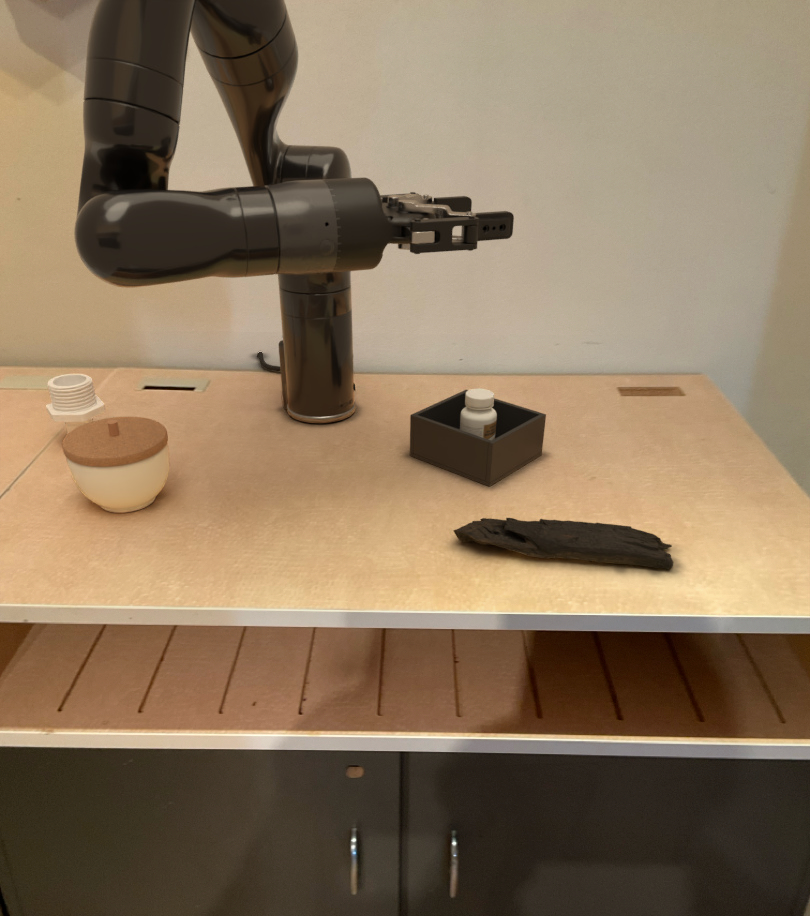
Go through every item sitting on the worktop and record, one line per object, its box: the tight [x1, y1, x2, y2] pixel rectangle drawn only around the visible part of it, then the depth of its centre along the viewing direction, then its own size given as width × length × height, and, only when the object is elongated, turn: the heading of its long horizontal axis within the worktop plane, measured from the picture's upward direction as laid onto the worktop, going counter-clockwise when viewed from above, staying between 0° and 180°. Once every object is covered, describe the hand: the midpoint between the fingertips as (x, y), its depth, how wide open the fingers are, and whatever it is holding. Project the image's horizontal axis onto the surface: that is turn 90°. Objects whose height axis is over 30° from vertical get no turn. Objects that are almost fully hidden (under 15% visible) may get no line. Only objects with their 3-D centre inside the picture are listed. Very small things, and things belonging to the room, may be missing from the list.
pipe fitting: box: [45, 373, 107, 435], centre depth 99 cm, size 6×7×8 cm
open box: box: [409, 389, 547, 487], centre depth 97 cm, size 12×11×6 cm
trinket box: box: [61, 416, 170, 514], centre depth 86 cm, size 11×11×9 cm
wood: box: [453, 517, 674, 570], centre depth 80 cm, size 22×7×3 cm, turn 83°
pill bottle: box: [460, 388, 497, 441], centre depth 96 cm, size 4×4×8 cm
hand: (489, 216), depth 73 cm, fingers open, 8 cm apart
